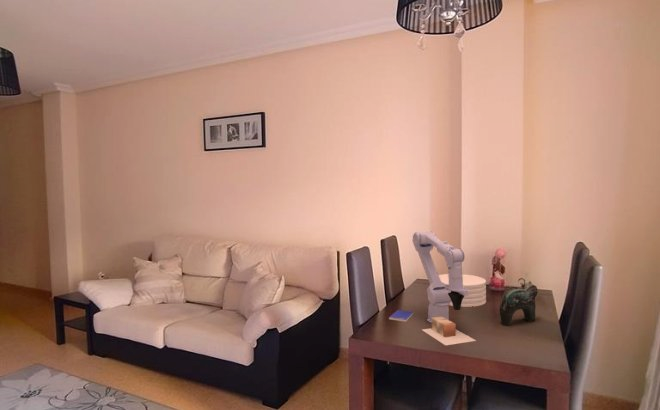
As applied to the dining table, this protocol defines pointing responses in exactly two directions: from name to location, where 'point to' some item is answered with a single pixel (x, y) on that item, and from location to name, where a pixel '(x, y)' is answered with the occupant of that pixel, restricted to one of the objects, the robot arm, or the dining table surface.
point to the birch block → (443, 326)
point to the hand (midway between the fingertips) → (457, 309)
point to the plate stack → (470, 290)
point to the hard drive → (401, 315)
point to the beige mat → (449, 340)
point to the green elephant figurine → (518, 302)
